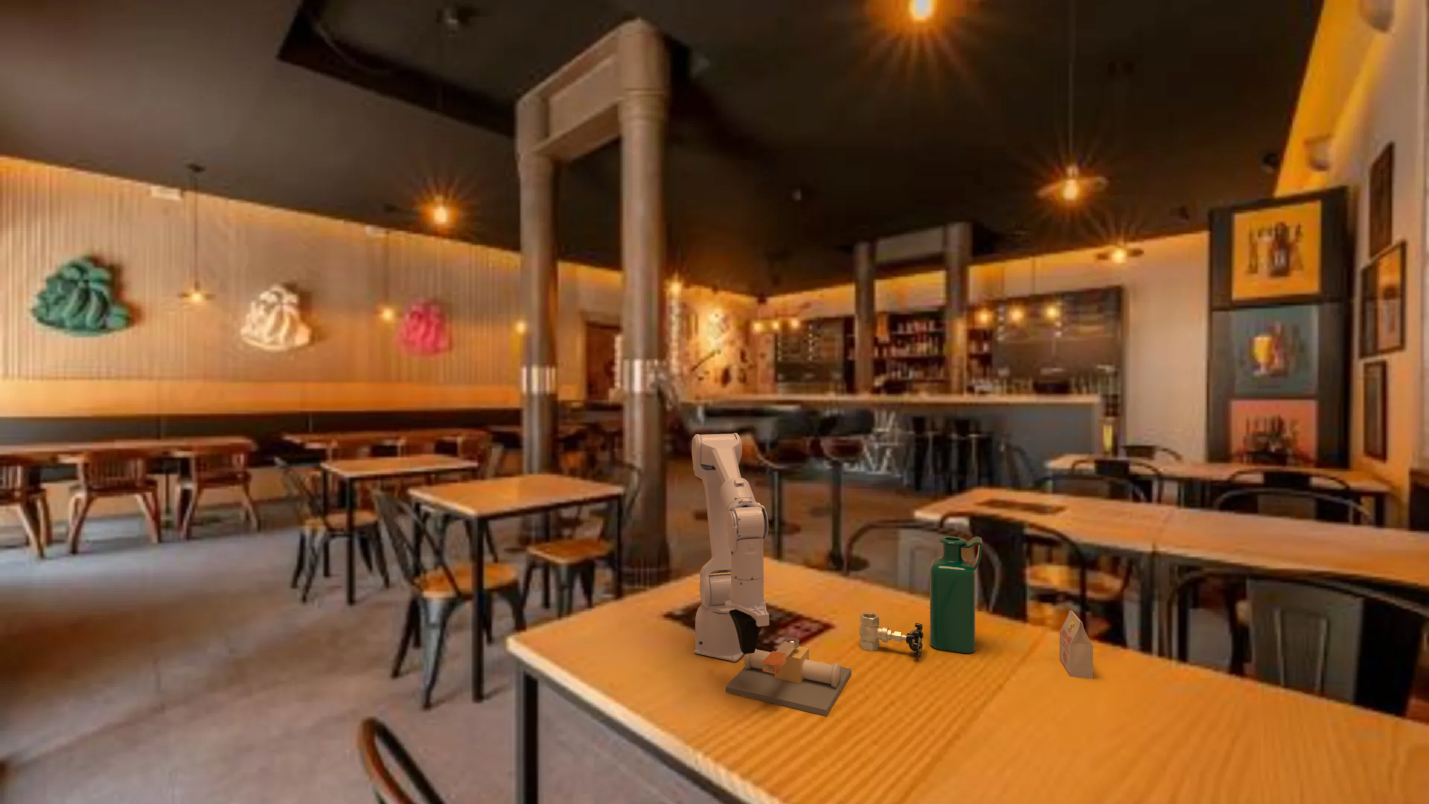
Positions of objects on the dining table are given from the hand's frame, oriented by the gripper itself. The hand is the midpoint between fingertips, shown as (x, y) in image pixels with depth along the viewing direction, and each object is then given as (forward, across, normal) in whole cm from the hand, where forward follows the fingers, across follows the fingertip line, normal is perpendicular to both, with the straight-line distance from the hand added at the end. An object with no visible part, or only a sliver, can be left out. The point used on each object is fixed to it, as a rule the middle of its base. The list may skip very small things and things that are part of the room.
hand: (747, 652), depth 108 cm
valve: (+7, -5, +32) cm, 33 cm away
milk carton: (+7, +13, +60) cm, 62 cm away
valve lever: (+1, +3, +5) cm, 6 cm away
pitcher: (+7, -3, +47) cm, 47 cm away
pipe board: (+6, 0, +8) cm, 11 cm away
